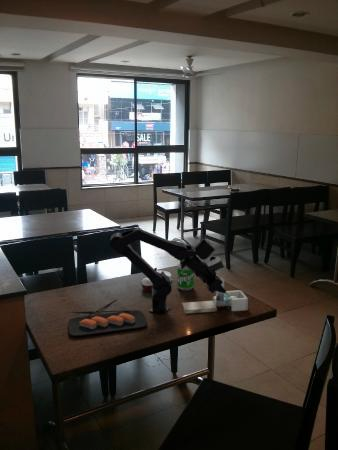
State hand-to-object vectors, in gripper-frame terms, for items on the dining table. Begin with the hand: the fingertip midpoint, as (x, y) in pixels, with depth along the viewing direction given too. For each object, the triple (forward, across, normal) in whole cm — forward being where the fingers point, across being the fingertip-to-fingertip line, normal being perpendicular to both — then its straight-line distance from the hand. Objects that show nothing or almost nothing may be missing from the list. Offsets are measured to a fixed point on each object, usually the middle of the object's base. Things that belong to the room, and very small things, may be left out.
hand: (223, 290), depth 168 cm
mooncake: (-11, +35, +21) cm, 42 cm away
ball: (+7, 0, +1) cm, 7 cm away
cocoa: (-15, +22, +26) cm, 37 cm away
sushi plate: (-29, -1, +40) cm, 49 cm away
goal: (+9, 0, +2) cm, 9 cm away
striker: (+3, 0, +5) cm, 6 cm away
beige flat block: (-2, 0, +13) cm, 13 cm away
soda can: (-3, +22, +14) cm, 26 cm away
